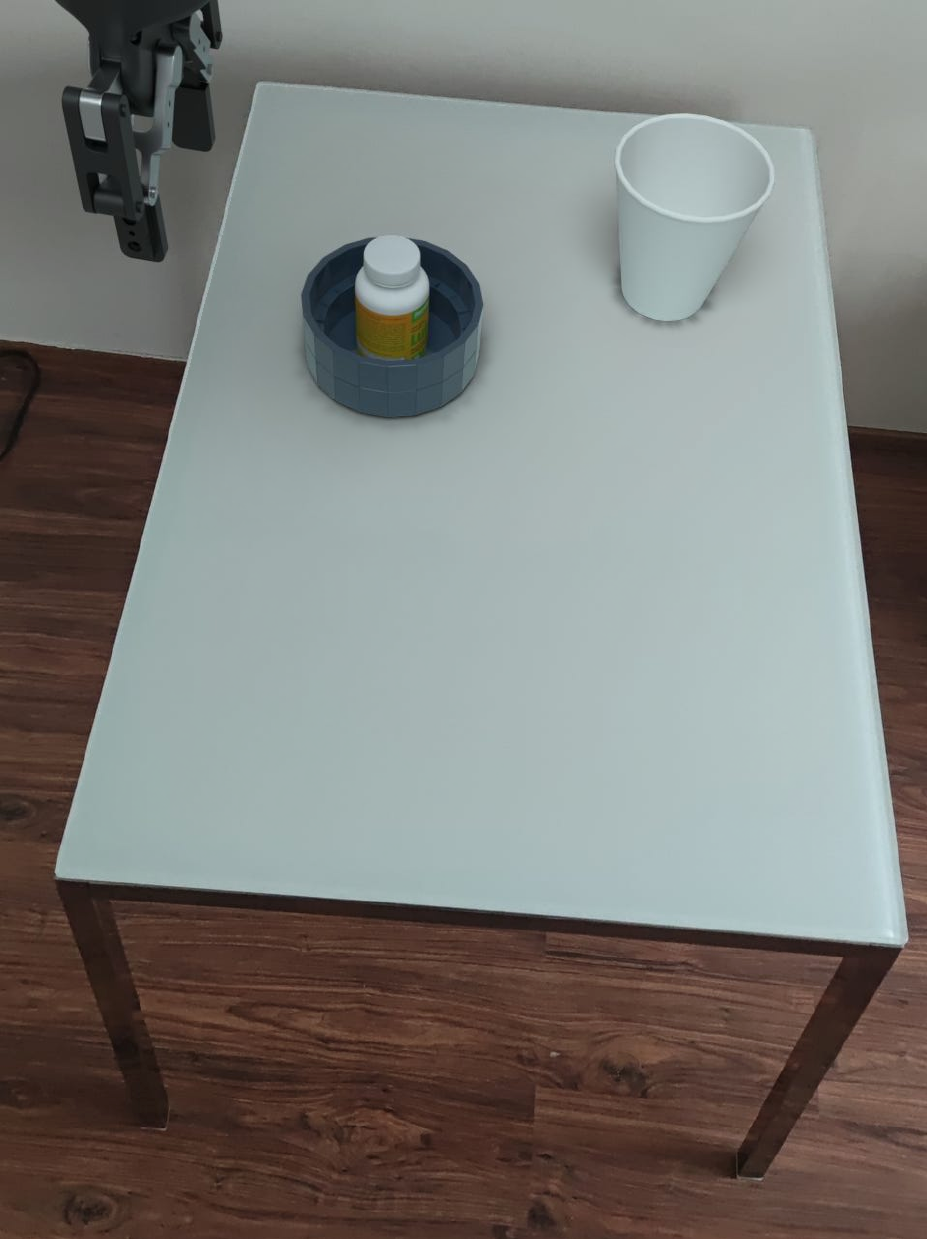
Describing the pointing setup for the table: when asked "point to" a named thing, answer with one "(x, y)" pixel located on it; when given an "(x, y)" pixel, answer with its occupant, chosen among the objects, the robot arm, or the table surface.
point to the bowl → (394, 381)
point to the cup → (684, 208)
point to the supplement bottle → (392, 301)
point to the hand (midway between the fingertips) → (170, 198)
